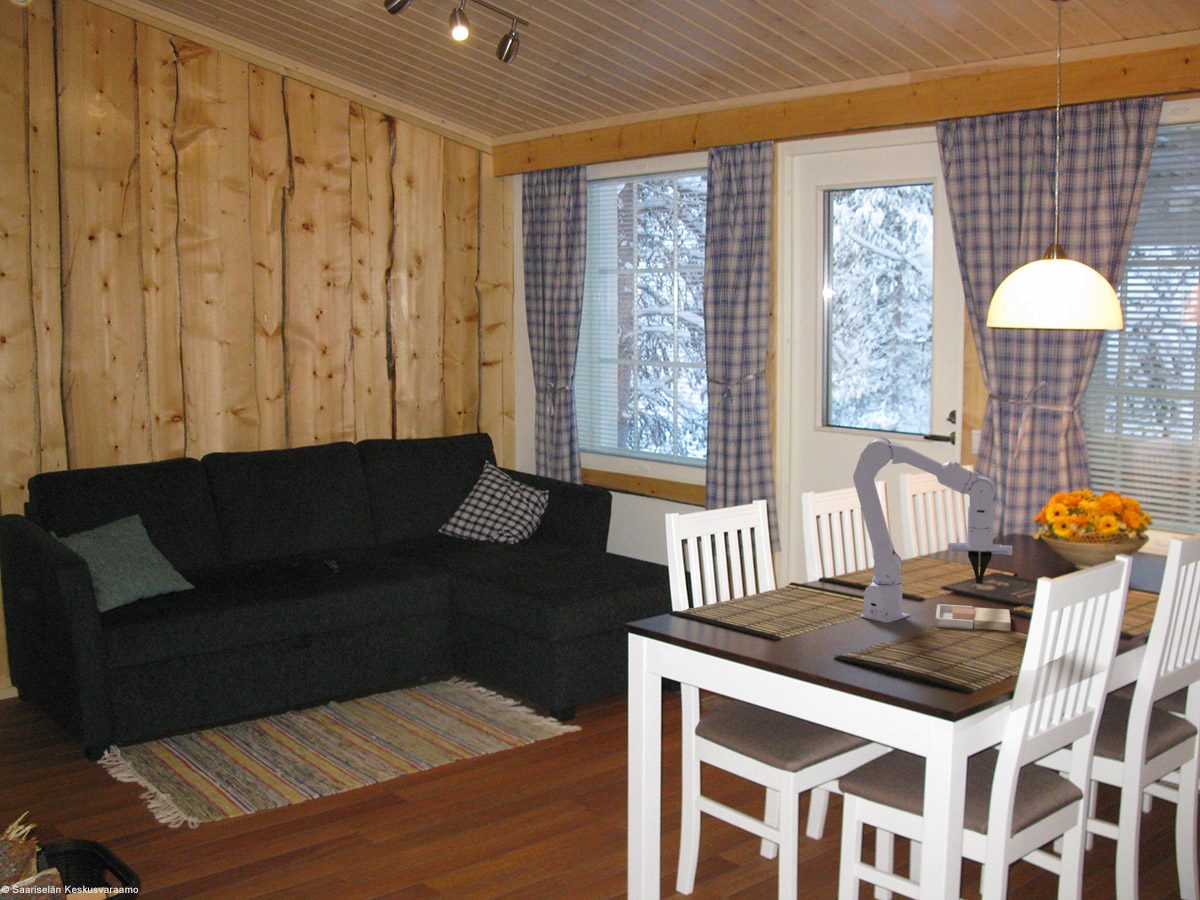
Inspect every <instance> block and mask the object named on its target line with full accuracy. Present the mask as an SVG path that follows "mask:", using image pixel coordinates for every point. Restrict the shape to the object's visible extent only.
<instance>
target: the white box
mask: <svg viewBox="0 0 1200 900" xmlns="http://www.w3.org/2000/svg"><path fill="white" fill-rule="evenodd" d="M973 609H974V611H975V616H974V622H973V629H978V630H979V629H980V630H994V631H1006V632H1007V631H1008V632H1011V629H1012V628H1011V627H1012V626H1011V623H1012V621H1011V615H1010V614H1011V613H1010V609H1004V608H989V607H974V606H973Z"/></svg>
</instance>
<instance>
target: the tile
mask: <svg viewBox="0 0 1200 900" xmlns="http://www.w3.org/2000/svg"><path fill="white" fill-rule="evenodd" d="M974 616H975V611H974V608H973V609H968V608H953V617H952V619H962V620H973V623H974Z"/></svg>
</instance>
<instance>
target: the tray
mask: <svg viewBox="0 0 1200 900" xmlns="http://www.w3.org/2000/svg"><path fill="white" fill-rule="evenodd" d="M953 608H968V609H974V605H973V606H972V605H957V604H944V603H942V604H941V603H937V604H936V612H935V627H936V628H949V629H963V630H974V622H973V620H962V619H952V617H953Z"/></svg>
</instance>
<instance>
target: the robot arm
mask: <svg viewBox="0 0 1200 900" xmlns="http://www.w3.org/2000/svg"><path fill="white" fill-rule="evenodd" d="M890 460H892V462H891V464H892V465H895V464H896V465H898V464H907V465H910V466H912V467H914V468H917V469H919V470H921V471H923V472H926V473H929V474H932V475H933V476H935V477H936V480H937V483H938V484H940V485H942V486H945V487H946V488H949V489H951V490H953V491H954V492H958V493H960V494H962V495H968V496H969V497H968V498H969V505H968V508H967V542H948V543H947V553H967V557H968V559H969V560H968V561H970V564H971V567H972V569H973V572H974V577H975V584H979V585H980V584H981V585H982V584H983V582H984V581H983V579H984V575H985V572H986V570H987V568H988V565H989V563H990V562H991V560H992V556H993V554H994V555H1007V556H1013V545H1005V544H1004V545H1003V544H997V543H993V542H994V535H993V534H994V507H993V506H994V499H993V498H994V496H995V495H996V494H995V493H996V491H995V486H994V483H993V481H992V480H991V479H990V478H989V477H987V476H986V475H985V474H980V473H979V472H978V471H974V472H973V471H971V470H969V469H967V468H966V467H965V468H964V467H962V466H960V465H961V463H960V462H958V461H954V462H952V461H947V462H944V463H942V462H939V461H937V460H935V459H933V458H930V457H929V456H927V455H925V454H923V453H921V452H918V451H917V450H915V449H913V448H910V447H908V446H907V445H905V444H902V443H900V442H897V441H893V440H889V439H888V438H886V437H882V436H881V437H880V436H879V437H875V438H873V439H872V440H870V442H869V443H868V444H867V445H866V447H865V448H864V449H863V450H862V451H861V453H860V456H859V458H858V461H857V464H856V466H855V470H854V472H853V477H852V478H853V483H854V486H855V490H856V494H857V497H858V501H859V505H860V508H861V512H862V515H863V519H864V522H865V525H866V531H867V532H868V533H867V534H868V537H869V540H870V544H871V548H872V549H871V550H872V551H871V552H872V557H873V563H874V564H873V568H872V572H873V576H872V581H871V583H870V585H868V586H866V588H865V590H864V592H863V614H860V617H861V618H864V619H868V620H873V621H878V622H881V623H885V624H888V623H891V622H895V621H898V620H901V619H904V618H907V617H910V614H909V613H905V612H903V581H904V579H903V578H902V577H900V573H901V569H902V566H903V560H902V559H901V556H900V555H899V554H898V552H897V551H896V549H895V547H894V544H893V542H892V539H891V538H890V537H891V536H890V534H889V530H888V526H887V522H886V518H885V515H884V511H883V507H882V503H881V500H880V498H879V493H878V490H877V486H876V483H875V478H876V477H877V475H878V473H879V472H880V470H881V469H883V468H884V467H886V466H887V464H889V463H890Z"/></svg>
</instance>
